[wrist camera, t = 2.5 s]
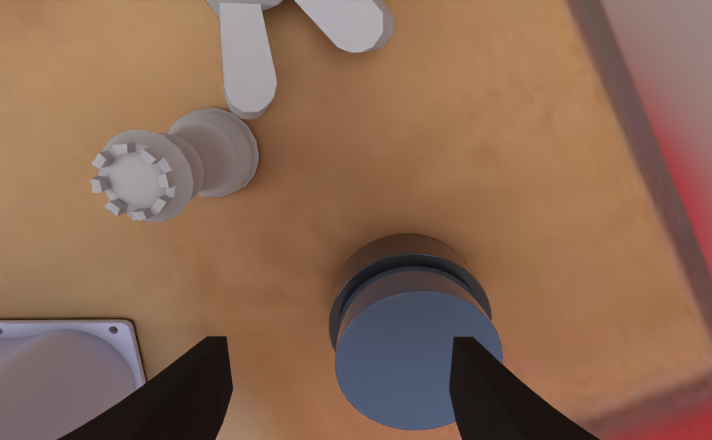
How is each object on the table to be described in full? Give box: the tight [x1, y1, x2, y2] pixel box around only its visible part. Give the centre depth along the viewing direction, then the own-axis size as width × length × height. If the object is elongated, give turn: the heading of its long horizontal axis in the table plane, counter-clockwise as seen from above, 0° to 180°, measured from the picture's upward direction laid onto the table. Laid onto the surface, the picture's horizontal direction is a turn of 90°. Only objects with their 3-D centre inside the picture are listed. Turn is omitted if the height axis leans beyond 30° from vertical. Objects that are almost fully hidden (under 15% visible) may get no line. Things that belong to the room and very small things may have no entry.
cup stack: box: [329, 234, 503, 430], centre depth 19 cm, size 9×9×6 cm
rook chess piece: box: [90, 108, 259, 222], centre depth 16 cm, size 4×4×8 cm
